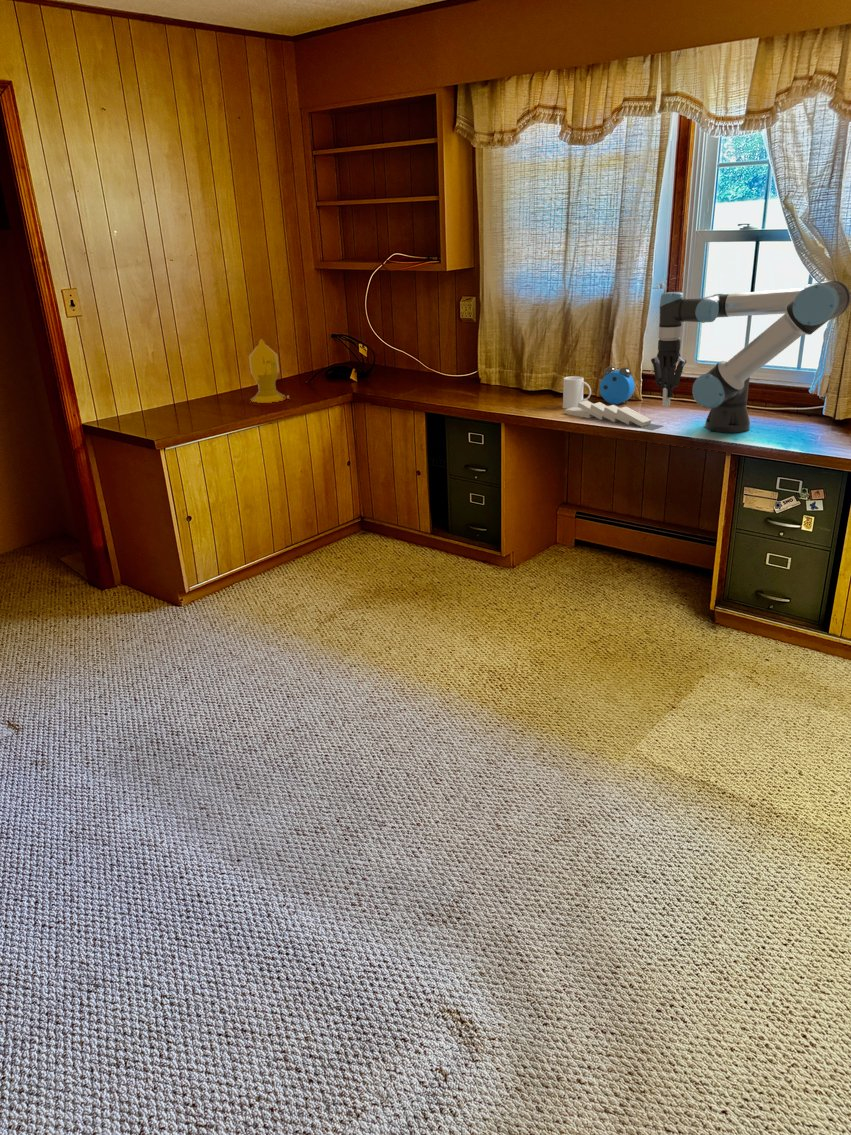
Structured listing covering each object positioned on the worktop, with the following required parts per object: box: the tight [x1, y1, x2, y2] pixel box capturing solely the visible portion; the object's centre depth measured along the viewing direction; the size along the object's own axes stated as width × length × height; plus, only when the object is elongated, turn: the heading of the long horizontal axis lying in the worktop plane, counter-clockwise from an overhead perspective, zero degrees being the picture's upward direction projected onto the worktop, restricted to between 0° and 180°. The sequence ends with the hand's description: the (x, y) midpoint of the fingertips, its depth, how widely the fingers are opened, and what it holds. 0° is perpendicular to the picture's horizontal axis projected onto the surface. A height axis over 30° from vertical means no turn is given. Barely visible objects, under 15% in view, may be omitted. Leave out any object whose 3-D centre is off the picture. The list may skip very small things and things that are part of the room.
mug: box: [562, 375, 592, 409], centre depth 341 cm, size 12×8×12 cm
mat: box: [582, 417, 665, 431], centre depth 316 cm, size 32×8×1 cm, turn 41°
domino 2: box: [578, 399, 606, 420], centre depth 324 cm, size 2×5×12 cm
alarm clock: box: [599, 365, 636, 405], centre depth 344 cm, size 13×6×15 cm, turn 55°
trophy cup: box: [248, 338, 290, 403], centre depth 378 cm, size 18×24×28 cm
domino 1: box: [564, 407, 595, 418], centre depth 329 cm, size 2×5×12 cm
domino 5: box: [617, 406, 652, 427], centre depth 311 cm, size 2×5×12 cm
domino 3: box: [590, 401, 620, 422], centre depth 320 cm, size 2×5×12 cm
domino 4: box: [604, 404, 633, 425], centre depth 316 cm, size 2×5×12 cm
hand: (666, 406), depth 301 cm, fingers closed
